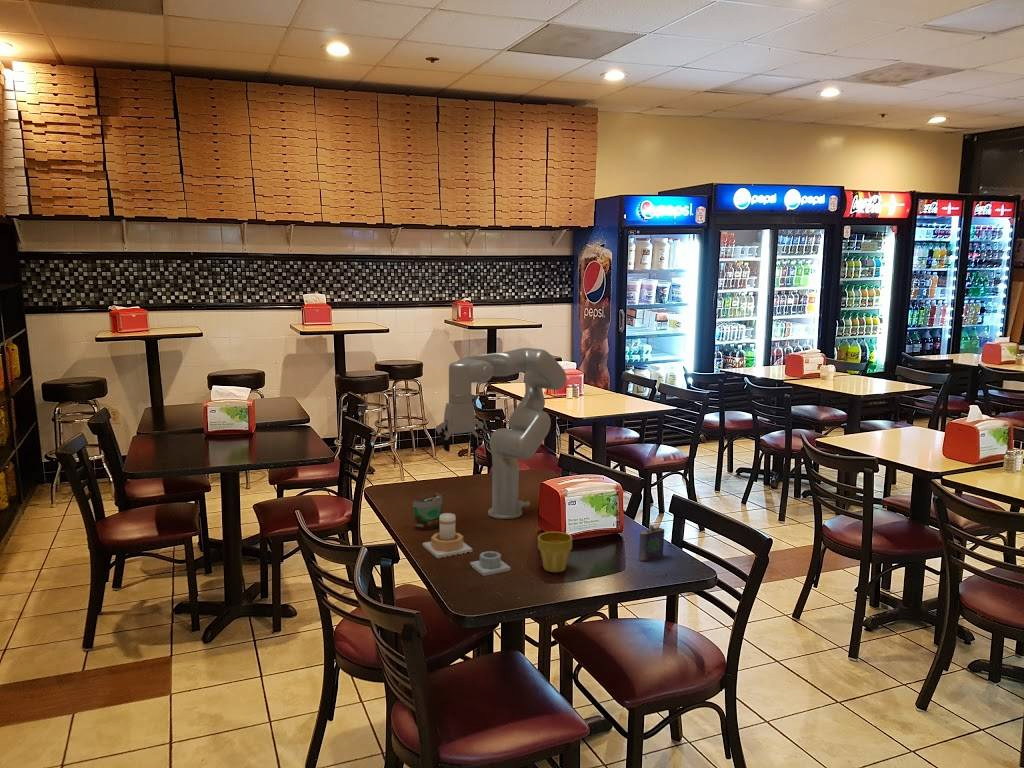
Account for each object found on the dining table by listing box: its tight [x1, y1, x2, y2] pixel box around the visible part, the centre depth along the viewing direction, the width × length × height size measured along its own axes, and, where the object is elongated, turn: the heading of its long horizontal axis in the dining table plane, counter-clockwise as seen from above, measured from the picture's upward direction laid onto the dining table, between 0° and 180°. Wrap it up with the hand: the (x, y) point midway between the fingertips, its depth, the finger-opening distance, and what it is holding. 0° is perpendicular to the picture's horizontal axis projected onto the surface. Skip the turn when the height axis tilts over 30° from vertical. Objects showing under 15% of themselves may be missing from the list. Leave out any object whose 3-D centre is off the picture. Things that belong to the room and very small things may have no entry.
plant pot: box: [537, 531, 573, 573], centre depth 224 cm, size 10×10×10 cm
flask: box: [638, 523, 665, 562], centre depth 233 cm, size 9×3×11 cm, turn 121°
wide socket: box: [422, 531, 473, 559], centre depth 239 cm, size 12×12×4 cm
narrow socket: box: [469, 550, 512, 577], centre depth 224 cm, size 9×9×4 cm
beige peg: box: [439, 512, 457, 541], centre depth 238 cm, size 5×5×10 cm
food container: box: [412, 492, 444, 530], centre depth 259 cm, size 12×6×10 cm, turn 143°
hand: (460, 449), depth 252 cm, fingers open, 9 cm apart
